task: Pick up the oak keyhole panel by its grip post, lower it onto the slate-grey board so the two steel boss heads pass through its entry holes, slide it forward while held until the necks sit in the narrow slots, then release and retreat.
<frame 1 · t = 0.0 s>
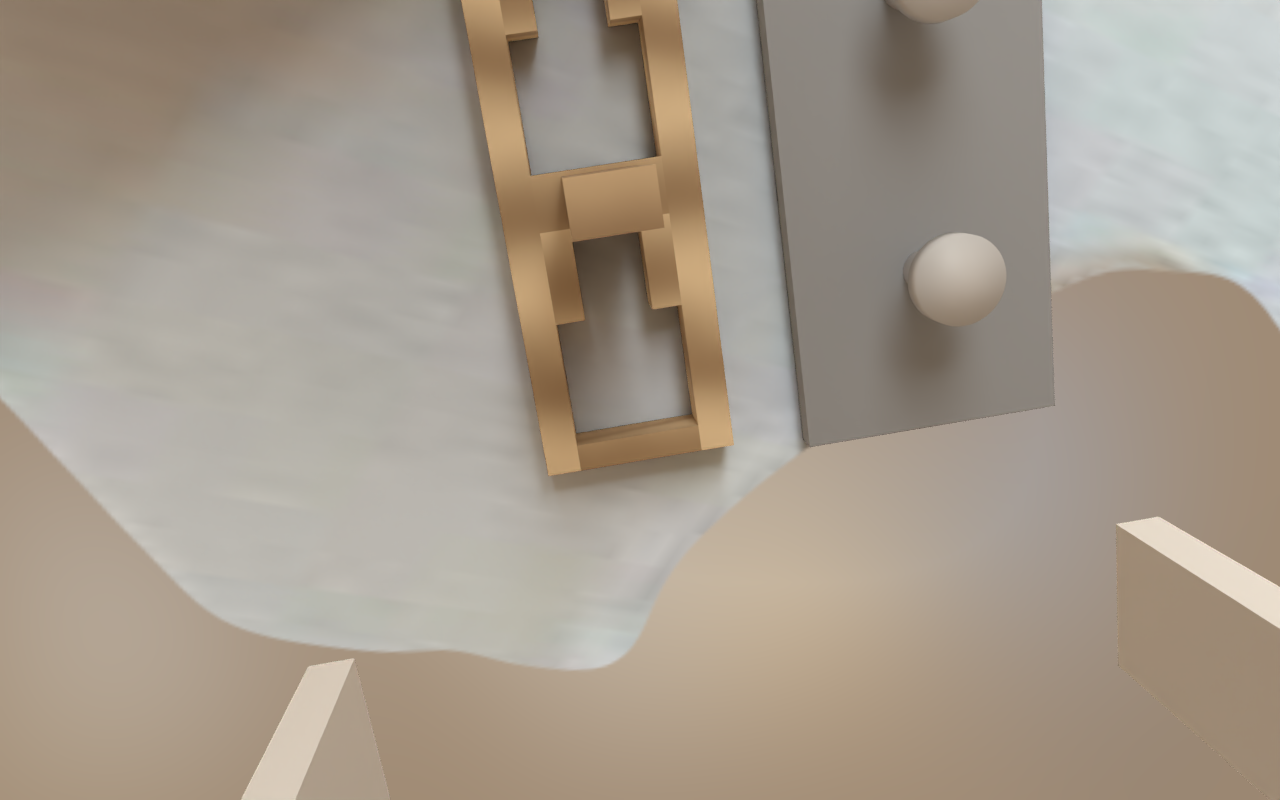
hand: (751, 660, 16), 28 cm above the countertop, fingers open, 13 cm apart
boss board: (903, 135, 41), on the countertop
oak panel: (607, 249, 41), on the countertop
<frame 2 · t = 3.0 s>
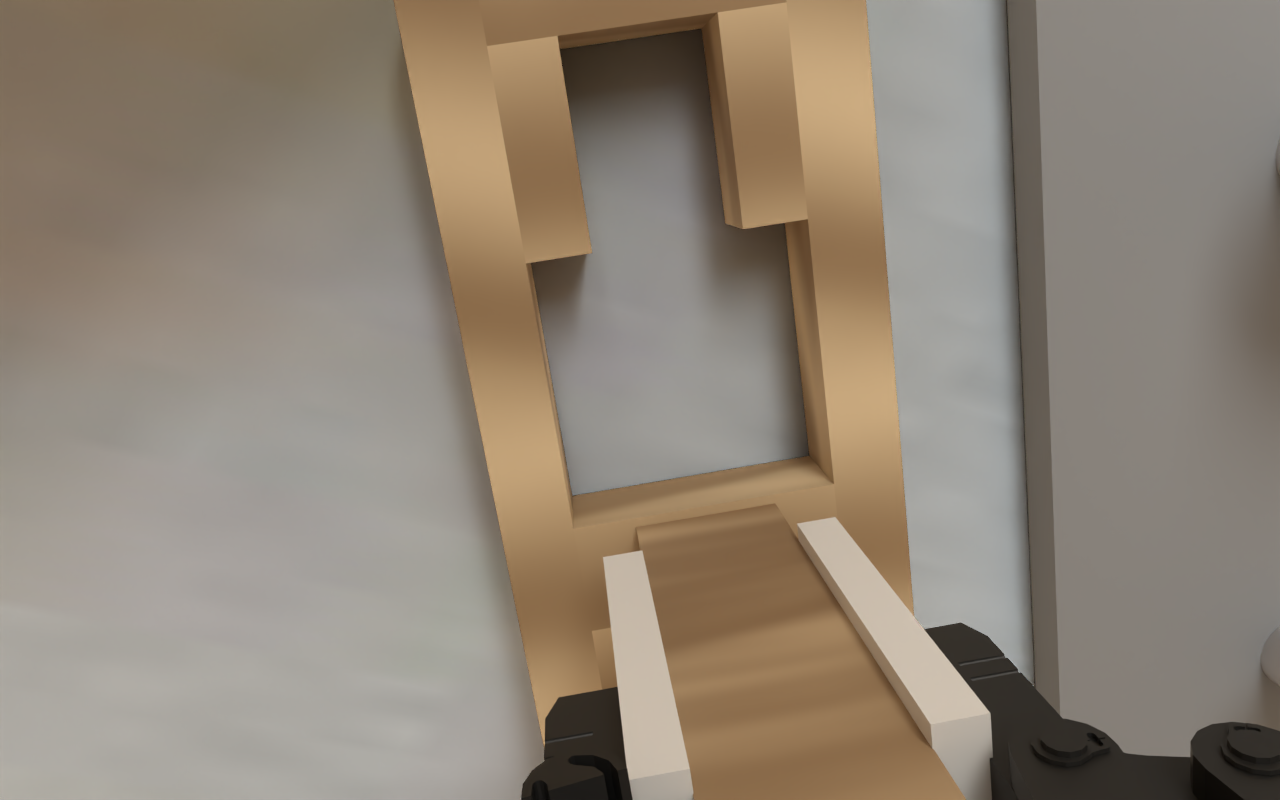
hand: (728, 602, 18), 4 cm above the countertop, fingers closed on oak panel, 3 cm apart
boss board: (1265, 406, 22), on the countertop
oak panel: (711, 618, 22), on the countertop, touching gripper
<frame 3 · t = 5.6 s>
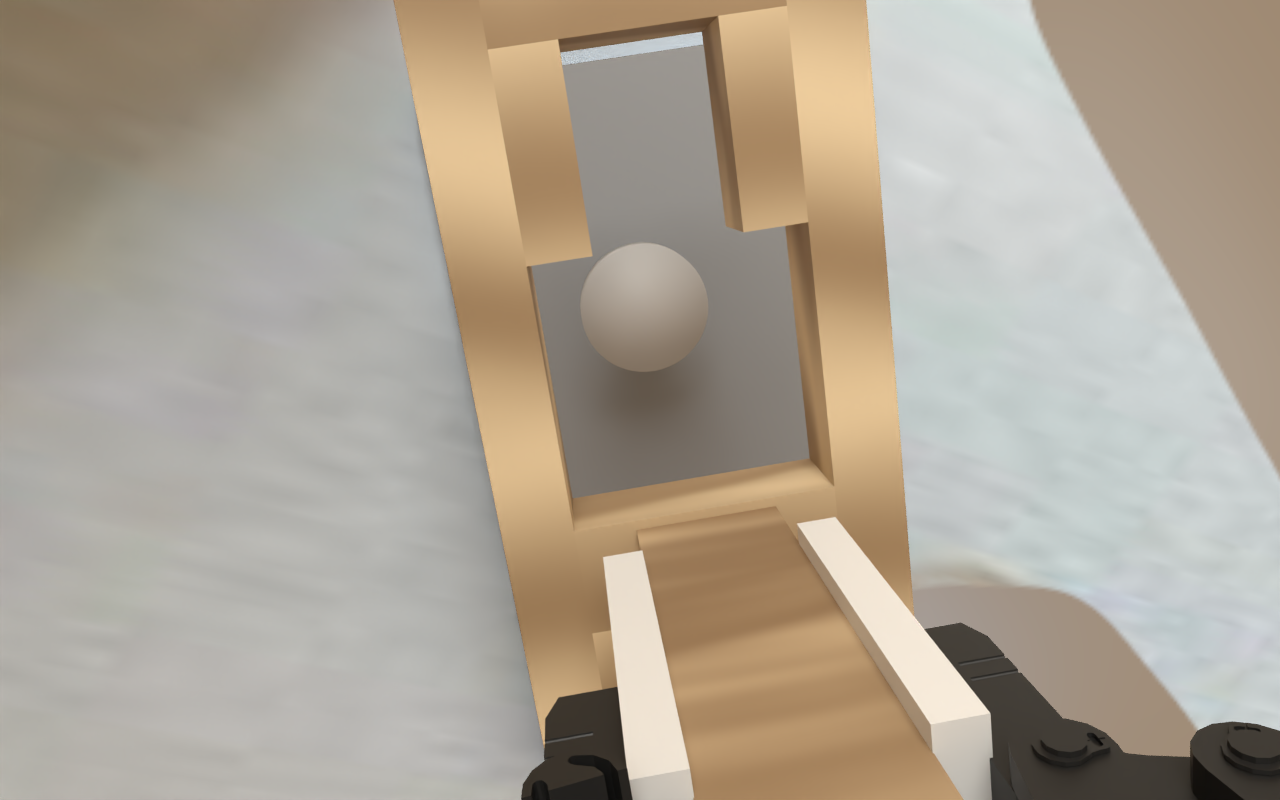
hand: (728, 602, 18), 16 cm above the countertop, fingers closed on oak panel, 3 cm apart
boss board: (655, 446, 34), on the countertop
oak panel: (711, 620, 22), point 12 cm above the countertop, touching gripper
when the fingers open (6 cm above the countertop, at t = 8.7 s): oak panel stays where it is, resting on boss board.
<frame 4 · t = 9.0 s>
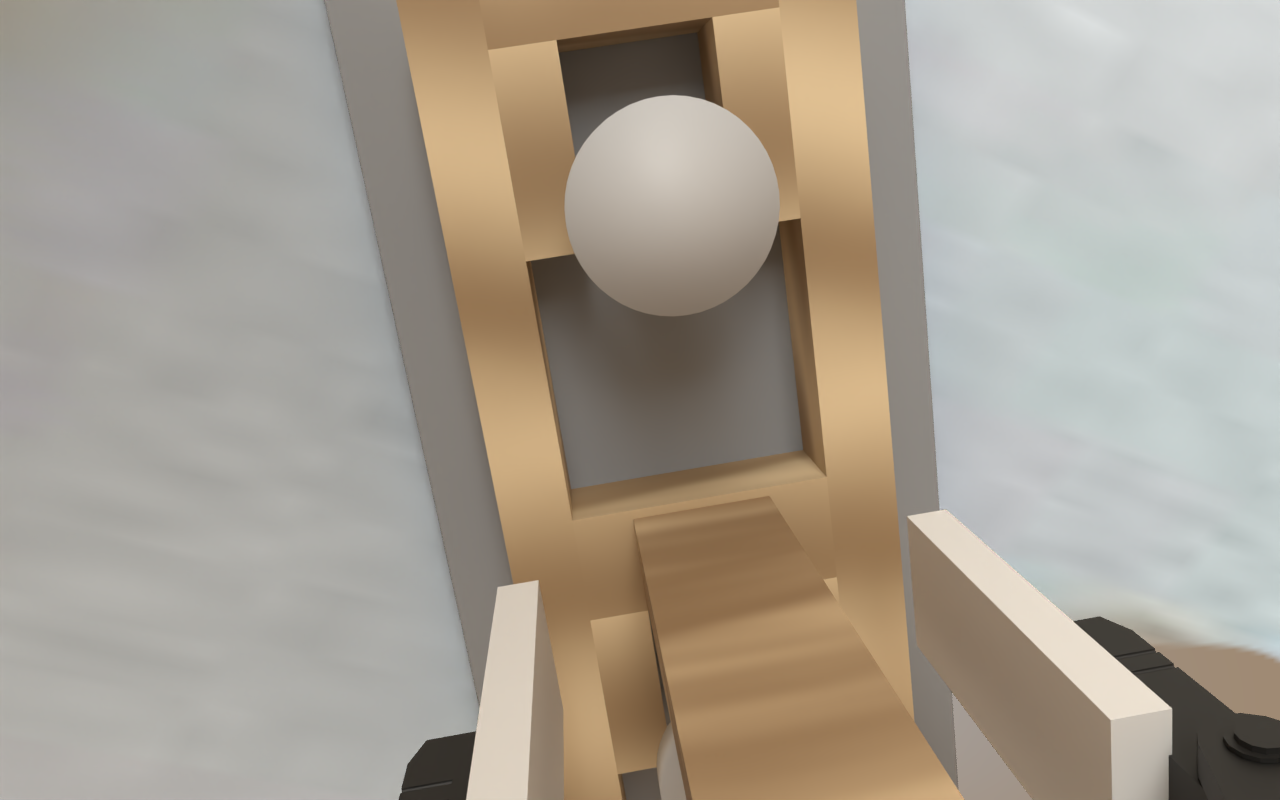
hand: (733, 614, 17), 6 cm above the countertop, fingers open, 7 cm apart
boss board: (680, 442, 23), on the countertop
oak panel: (707, 609, 23), point 1 cm above the countertop, touching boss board
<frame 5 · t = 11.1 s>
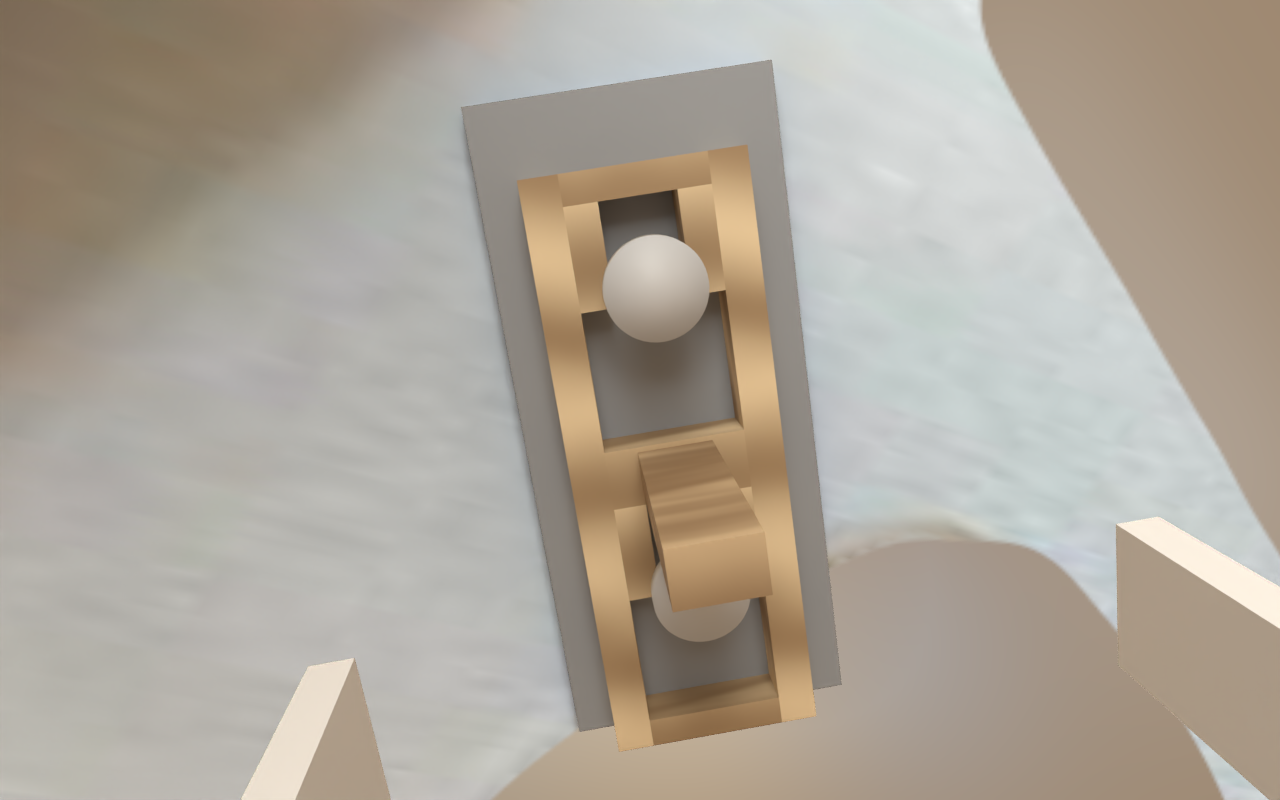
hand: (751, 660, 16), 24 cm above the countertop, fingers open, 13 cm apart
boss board: (665, 414, 39), on the countertop
oak panel: (681, 511, 39), point 1 cm above the countertop, touching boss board
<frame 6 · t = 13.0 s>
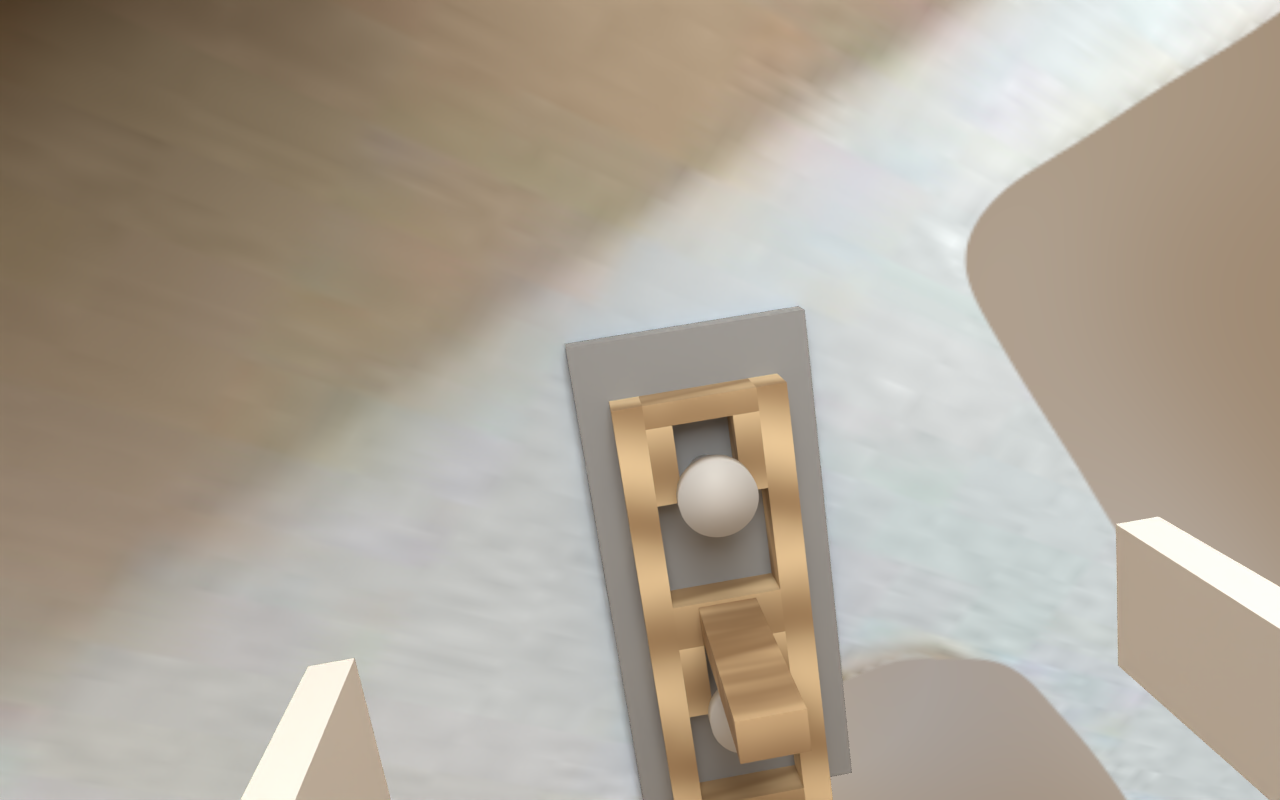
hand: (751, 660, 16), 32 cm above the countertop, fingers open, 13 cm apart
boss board: (715, 567, 50), on the countertop
oak panel: (728, 643, 50), point 1 cm above the countertop, touching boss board
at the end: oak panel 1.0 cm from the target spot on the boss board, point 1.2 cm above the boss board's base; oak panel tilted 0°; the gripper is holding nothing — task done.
